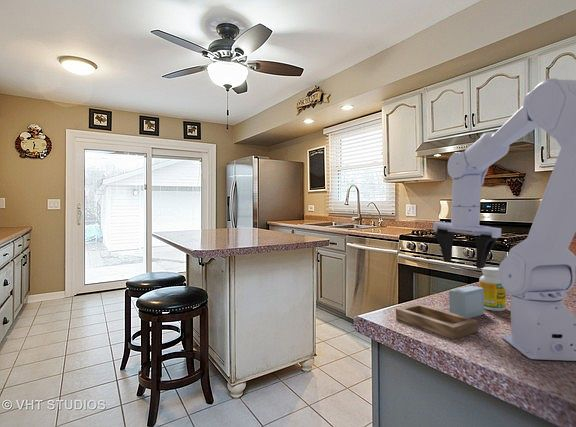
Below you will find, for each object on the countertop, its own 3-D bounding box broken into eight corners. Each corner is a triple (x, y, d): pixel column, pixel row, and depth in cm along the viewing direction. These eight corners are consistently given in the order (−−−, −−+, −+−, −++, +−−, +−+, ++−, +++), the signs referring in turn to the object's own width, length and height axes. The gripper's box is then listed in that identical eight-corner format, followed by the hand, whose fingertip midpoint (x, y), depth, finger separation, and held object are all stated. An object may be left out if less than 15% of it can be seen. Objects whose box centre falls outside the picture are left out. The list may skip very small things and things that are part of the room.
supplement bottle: (486, 303, 83) (485, 265, 83) (510, 308, 78) (509, 268, 78) (475, 307, 80) (474, 268, 80) (499, 312, 75) (498, 271, 75)
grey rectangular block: (471, 310, 77) (470, 285, 77) (484, 314, 75) (483, 288, 75) (449, 316, 74) (449, 290, 74) (462, 320, 71) (461, 293, 71)
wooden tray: (477, 331, 64) (477, 320, 64) (453, 339, 61) (453, 327, 61) (418, 312, 77) (418, 303, 77) (396, 318, 73) (395, 308, 73)
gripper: (509, 207, 71) (505, 268, 72) (445, 203, 83) (443, 256, 84) (493, 208, 67) (490, 273, 68) (428, 205, 79) (427, 260, 80)
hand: (463, 264), depth 76 cm, fingers open, 7 cm apart
